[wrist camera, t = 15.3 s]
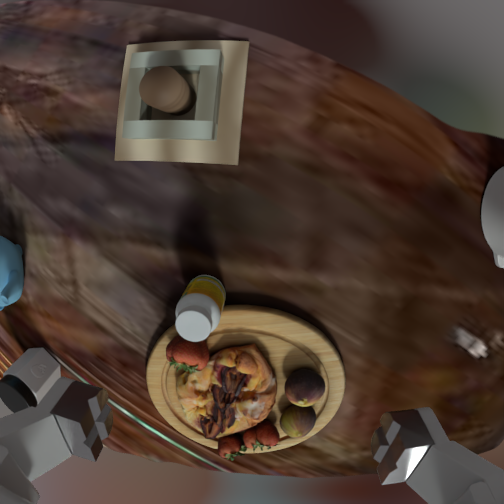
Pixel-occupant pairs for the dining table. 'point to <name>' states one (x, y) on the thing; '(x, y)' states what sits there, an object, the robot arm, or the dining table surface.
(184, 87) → the peg
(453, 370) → the dining table surface
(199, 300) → the supplement bottle
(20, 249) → the teapot
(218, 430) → the wooden plate with food
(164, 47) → the socket board
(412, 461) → the robot arm
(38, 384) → the jar
